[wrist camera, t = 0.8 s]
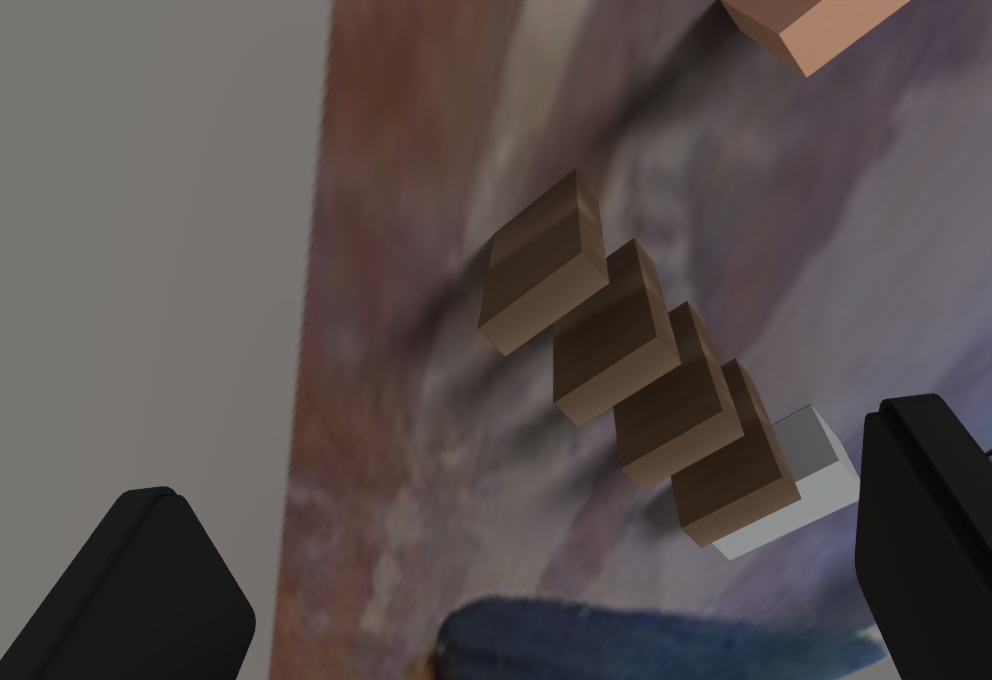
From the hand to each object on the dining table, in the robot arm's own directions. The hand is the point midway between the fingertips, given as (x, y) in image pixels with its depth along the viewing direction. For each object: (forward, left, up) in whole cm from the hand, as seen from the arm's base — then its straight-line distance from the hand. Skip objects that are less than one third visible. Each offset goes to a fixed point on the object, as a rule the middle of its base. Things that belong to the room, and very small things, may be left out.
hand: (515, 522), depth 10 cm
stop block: (-24, -2, -25) cm, 34 cm away
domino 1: (-5, +2, -25) cm, 25 cm away
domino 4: (-18, 0, -25) cm, 31 cm away
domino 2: (-9, +1, -25) cm, 26 cm away
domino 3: (-14, +1, -25) cm, 28 cm away
